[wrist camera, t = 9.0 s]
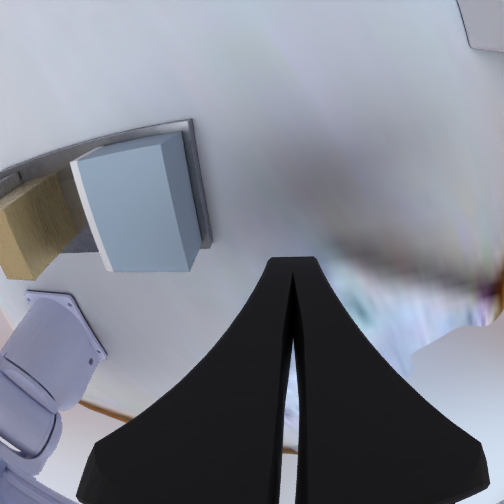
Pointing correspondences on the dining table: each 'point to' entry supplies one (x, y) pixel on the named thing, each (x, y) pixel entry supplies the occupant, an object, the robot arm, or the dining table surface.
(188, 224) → the block
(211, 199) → the dining table surface
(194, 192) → the vise
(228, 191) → the dining table surface
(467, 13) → the tall white carton
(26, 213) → the tan wooden block
